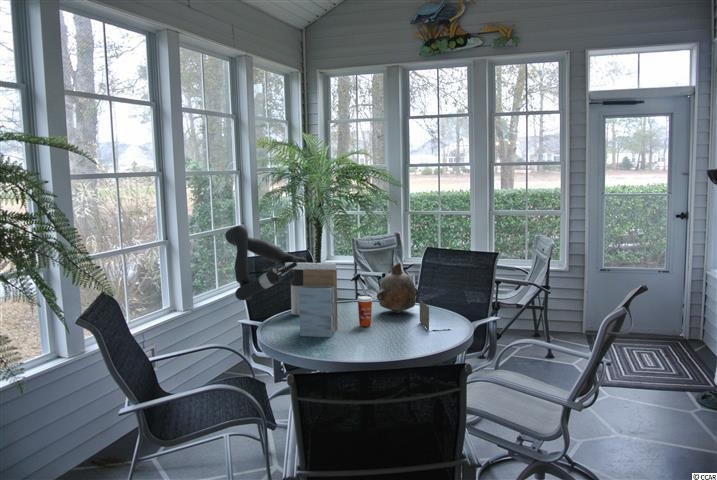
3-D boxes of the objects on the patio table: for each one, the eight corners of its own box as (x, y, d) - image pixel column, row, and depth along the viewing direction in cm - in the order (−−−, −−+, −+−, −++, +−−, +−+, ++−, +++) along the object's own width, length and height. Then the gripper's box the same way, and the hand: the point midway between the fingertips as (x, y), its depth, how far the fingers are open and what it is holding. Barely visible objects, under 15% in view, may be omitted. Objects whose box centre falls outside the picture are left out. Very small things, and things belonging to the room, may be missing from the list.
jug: (392, 306, 347) (392, 258, 344) (423, 311, 335) (423, 260, 331) (369, 315, 328) (369, 263, 324) (401, 320, 315) (401, 266, 312)
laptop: (451, 331, 294) (452, 306, 292) (428, 332, 292) (428, 307, 291) (441, 322, 312) (441, 298, 310) (419, 323, 310) (419, 299, 308)
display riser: (307, 328, 300) (306, 267, 297) (337, 329, 298) (336, 268, 294) (300, 335, 286) (298, 272, 282) (331, 337, 283) (330, 273, 279)
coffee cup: (361, 327, 300) (361, 299, 298) (354, 324, 307) (354, 297, 305) (375, 325, 303) (375, 298, 302) (368, 322, 311) (368, 295, 309)
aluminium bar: (287, 268, 297) (287, 262, 297) (336, 269, 292) (336, 263, 292) (285, 269, 293) (285, 263, 293) (334, 270, 289) (334, 264, 289)
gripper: (261, 274, 290) (289, 258, 287) (270, 270, 304) (297, 254, 301) (269, 287, 290) (297, 271, 287) (277, 282, 304) (304, 267, 301)
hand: (297, 263), depth 294 cm, fingers closed on aluminium bar, 3 cm apart
